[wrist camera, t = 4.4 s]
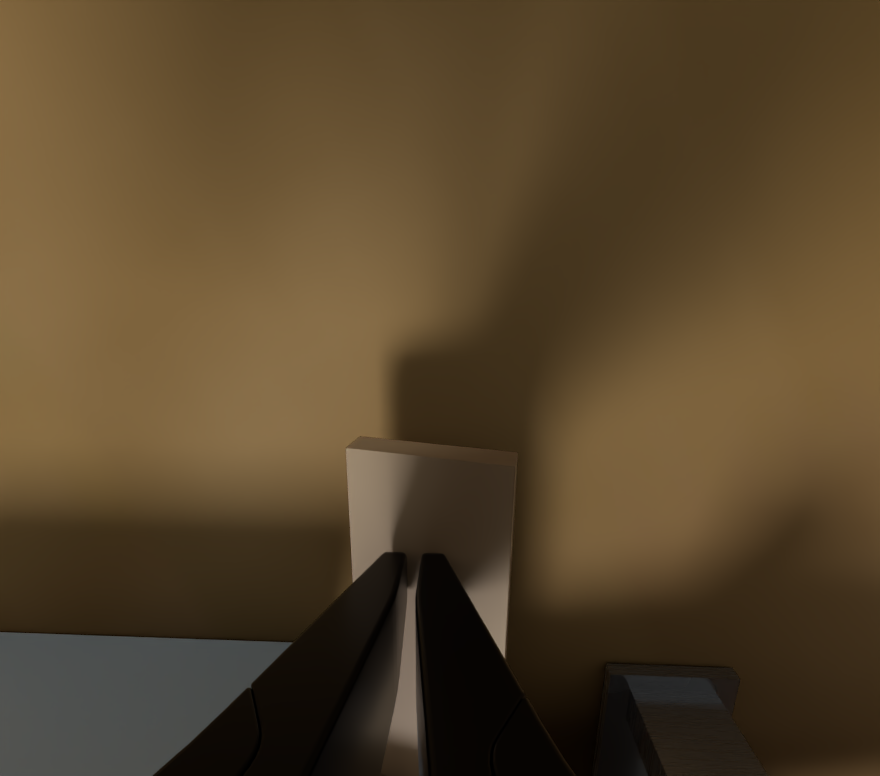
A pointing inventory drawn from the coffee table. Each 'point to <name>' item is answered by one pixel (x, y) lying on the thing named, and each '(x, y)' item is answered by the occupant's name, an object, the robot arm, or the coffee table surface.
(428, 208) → the coffee table surface
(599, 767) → the pivot stand
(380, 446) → the lever
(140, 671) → the dish
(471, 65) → the coffee table surface
